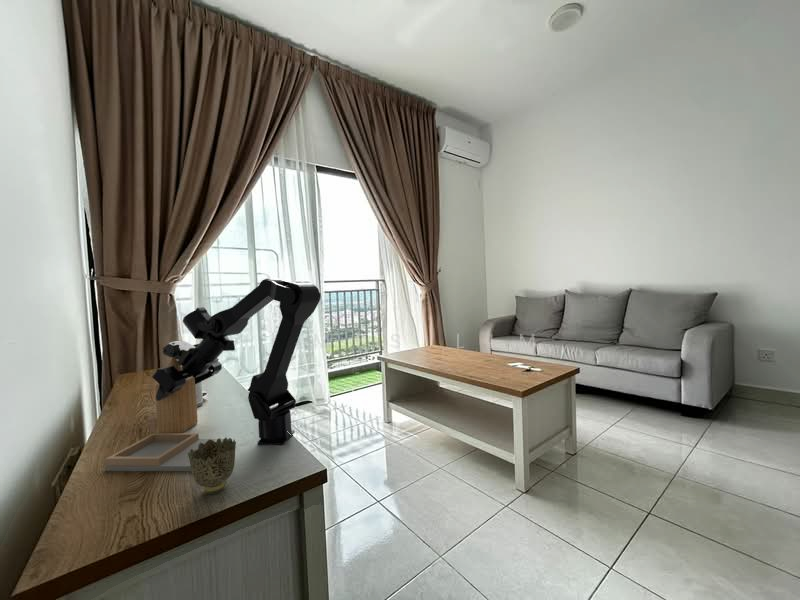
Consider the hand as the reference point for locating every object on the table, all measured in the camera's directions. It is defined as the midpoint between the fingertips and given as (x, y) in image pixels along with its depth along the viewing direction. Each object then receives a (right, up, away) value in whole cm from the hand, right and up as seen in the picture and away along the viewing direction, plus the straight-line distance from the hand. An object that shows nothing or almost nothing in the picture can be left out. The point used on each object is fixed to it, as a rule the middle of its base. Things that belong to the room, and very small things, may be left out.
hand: (171, 393), depth 87 cm
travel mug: (-6, -9, +18) cm, 21 cm away
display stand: (+11, -10, -15) cm, 20 cm away
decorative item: (+2, -10, 0) cm, 10 cm away
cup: (+28, -10, -28) cm, 40 cm away
